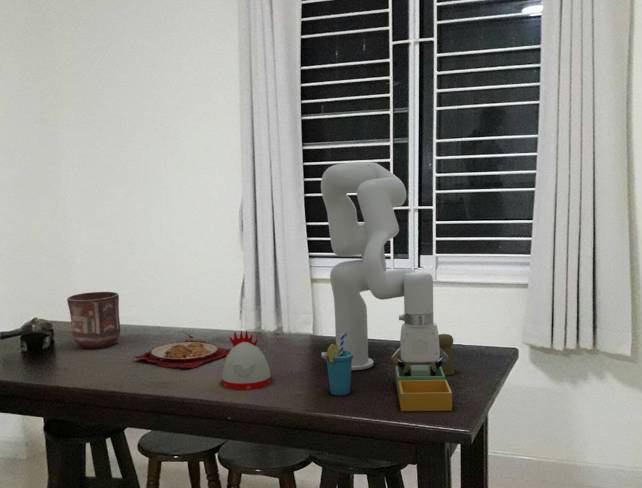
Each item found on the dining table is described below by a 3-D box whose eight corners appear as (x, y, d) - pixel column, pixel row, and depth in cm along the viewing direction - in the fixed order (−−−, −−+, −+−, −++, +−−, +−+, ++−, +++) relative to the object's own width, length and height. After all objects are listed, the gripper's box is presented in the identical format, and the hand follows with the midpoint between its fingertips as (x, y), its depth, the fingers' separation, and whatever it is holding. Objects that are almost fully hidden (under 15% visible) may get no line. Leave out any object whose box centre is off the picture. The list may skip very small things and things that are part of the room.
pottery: (82, 339, 283) (78, 292, 280) (128, 338, 280) (124, 290, 277) (64, 351, 265) (59, 301, 262) (112, 350, 263) (108, 299, 260)
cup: (333, 383, 212) (331, 330, 209) (361, 384, 209) (359, 331, 206) (319, 398, 199) (317, 342, 196) (348, 400, 196) (346, 343, 194)
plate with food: (132, 362, 247) (131, 351, 246) (187, 343, 267) (186, 333, 266) (185, 372, 232) (184, 361, 232) (239, 351, 252) (238, 341, 251)
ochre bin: (401, 411, 186) (400, 393, 185) (398, 397, 197) (398, 380, 196) (452, 410, 184) (452, 392, 183) (446, 396, 195) (446, 379, 194)
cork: (455, 375, 213) (455, 337, 211) (433, 375, 215) (433, 337, 213) (454, 369, 219) (454, 332, 217) (433, 369, 220) (432, 332, 218)
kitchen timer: (224, 376, 224) (221, 326, 222) (271, 374, 224) (268, 324, 221) (220, 390, 211) (217, 337, 208) (270, 388, 210) (267, 335, 207)
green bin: (397, 393, 199) (397, 377, 199) (395, 381, 210) (395, 365, 210) (445, 393, 198) (445, 376, 197) (440, 380, 209) (440, 365, 208)
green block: (411, 388, 202) (411, 370, 201) (410, 382, 207) (409, 365, 206) (430, 388, 201) (430, 369, 200) (428, 382, 206) (428, 364, 205)
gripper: (386, 322, 198) (388, 389, 201) (453, 321, 196) (454, 388, 199) (385, 317, 206) (387, 381, 209) (450, 315, 203) (451, 380, 206)
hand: (420, 384), depth 204 cm, fingers open, 5 cm apart
